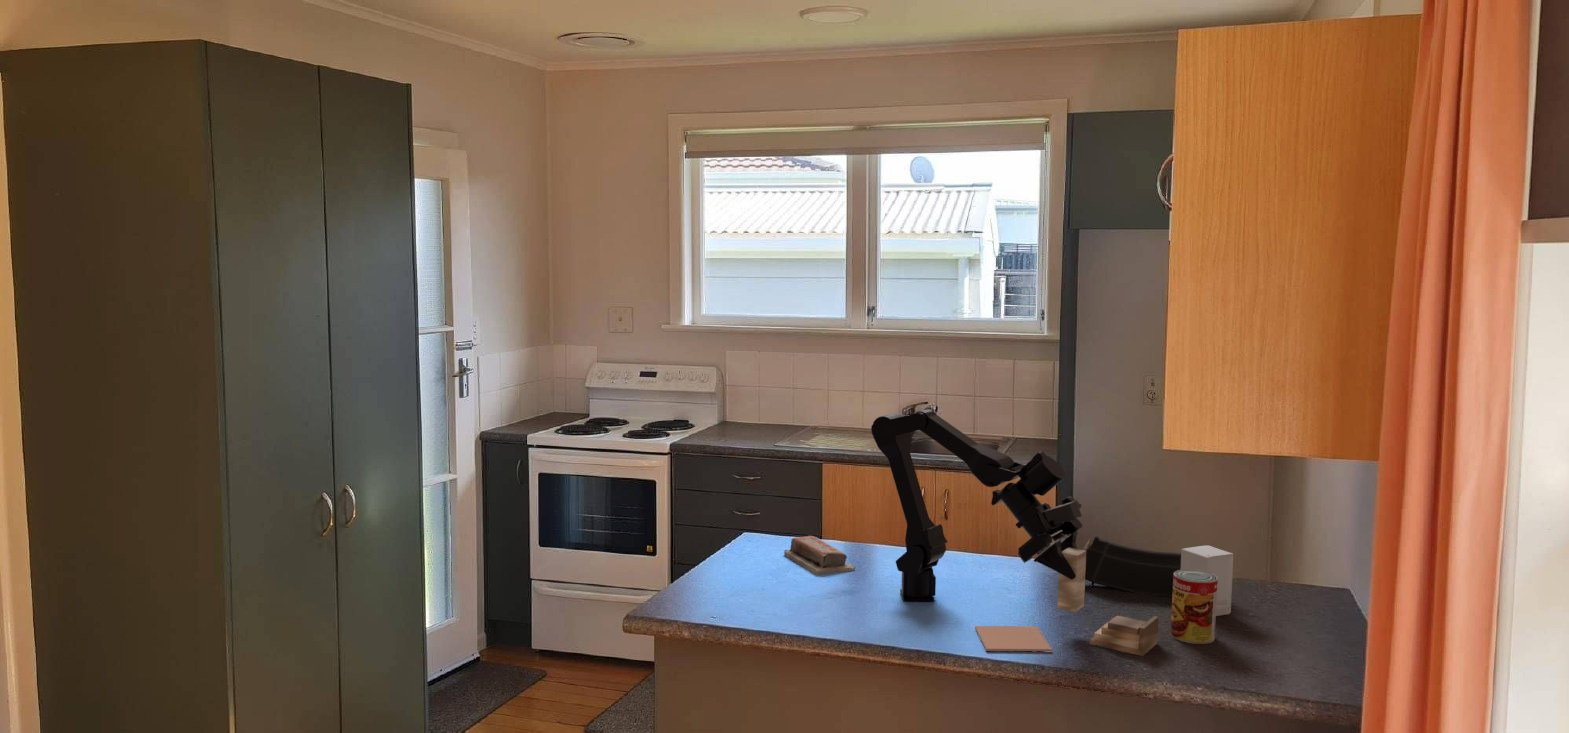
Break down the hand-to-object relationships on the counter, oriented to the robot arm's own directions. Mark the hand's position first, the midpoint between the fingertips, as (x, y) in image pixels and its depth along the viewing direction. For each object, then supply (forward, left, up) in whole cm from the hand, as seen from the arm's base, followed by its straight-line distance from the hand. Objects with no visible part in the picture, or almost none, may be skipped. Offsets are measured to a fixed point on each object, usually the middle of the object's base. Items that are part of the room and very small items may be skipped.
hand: (1078, 575), depth 210 cm
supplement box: (+30, +14, -12) cm, 35 cm away
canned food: (+22, -1, -12) cm, 25 cm away
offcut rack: (+7, -5, -11) cm, 15 cm away
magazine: (+22, +26, -12) cm, 36 cm away
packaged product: (-48, +46, -12) cm, 67 cm away
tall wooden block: (-1, +1, -7) cm, 7 cm away
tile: (-13, -4, -11) cm, 18 cm away
